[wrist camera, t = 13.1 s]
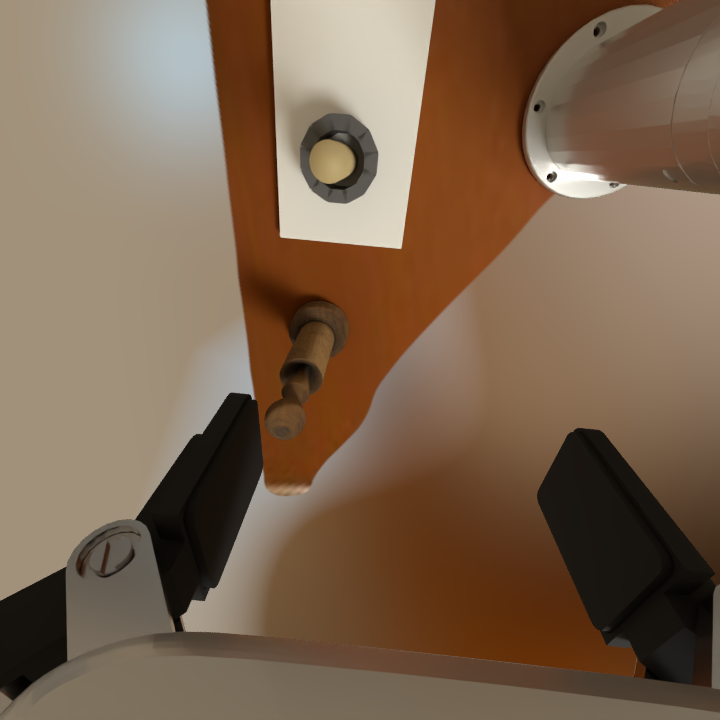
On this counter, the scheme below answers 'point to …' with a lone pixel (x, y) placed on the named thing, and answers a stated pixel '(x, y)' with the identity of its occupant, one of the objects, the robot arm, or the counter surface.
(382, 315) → the counter surface
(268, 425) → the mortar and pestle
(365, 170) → the ring
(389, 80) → the post board
